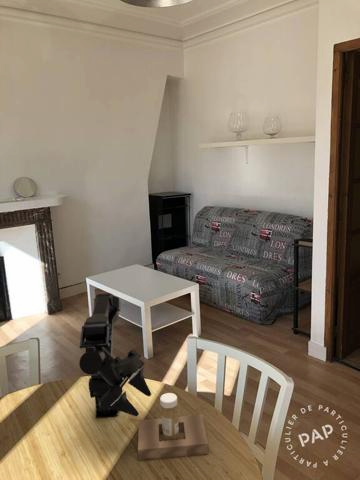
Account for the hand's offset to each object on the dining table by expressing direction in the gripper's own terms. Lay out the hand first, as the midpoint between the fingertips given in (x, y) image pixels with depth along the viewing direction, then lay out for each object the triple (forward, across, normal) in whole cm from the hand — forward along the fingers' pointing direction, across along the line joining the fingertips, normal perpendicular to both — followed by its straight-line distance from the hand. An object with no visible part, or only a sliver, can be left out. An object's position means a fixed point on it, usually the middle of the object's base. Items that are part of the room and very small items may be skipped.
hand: (144, 405), depth 114 cm
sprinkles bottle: (+12, 0, +2) cm, 12 cm away
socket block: (+12, 0, +1) cm, 12 cm away
